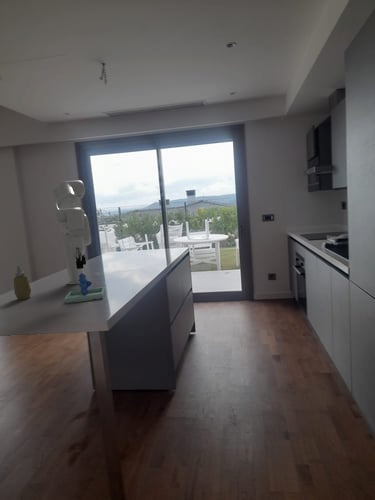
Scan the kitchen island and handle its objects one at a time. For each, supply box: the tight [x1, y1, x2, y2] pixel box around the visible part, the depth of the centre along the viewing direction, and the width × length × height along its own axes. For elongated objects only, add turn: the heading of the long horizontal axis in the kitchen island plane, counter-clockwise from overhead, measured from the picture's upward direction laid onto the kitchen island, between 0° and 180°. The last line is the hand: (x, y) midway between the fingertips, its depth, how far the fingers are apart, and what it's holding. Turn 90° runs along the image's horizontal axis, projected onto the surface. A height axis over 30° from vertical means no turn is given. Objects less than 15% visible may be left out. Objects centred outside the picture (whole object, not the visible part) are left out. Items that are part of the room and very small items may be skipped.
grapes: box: [78, 273, 93, 296], centre depth 171 cm, size 12×7×12 cm, turn 12°
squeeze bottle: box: [13, 265, 32, 301], centre depth 179 cm, size 8×8×18 cm
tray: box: [64, 286, 106, 304], centre depth 170 cm, size 14×18×2 cm
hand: (81, 266), depth 168 cm, fingers open, 9 cm apart
